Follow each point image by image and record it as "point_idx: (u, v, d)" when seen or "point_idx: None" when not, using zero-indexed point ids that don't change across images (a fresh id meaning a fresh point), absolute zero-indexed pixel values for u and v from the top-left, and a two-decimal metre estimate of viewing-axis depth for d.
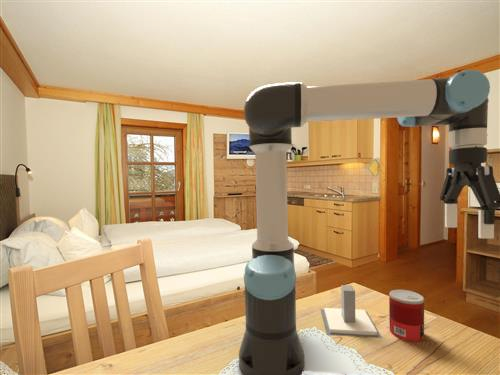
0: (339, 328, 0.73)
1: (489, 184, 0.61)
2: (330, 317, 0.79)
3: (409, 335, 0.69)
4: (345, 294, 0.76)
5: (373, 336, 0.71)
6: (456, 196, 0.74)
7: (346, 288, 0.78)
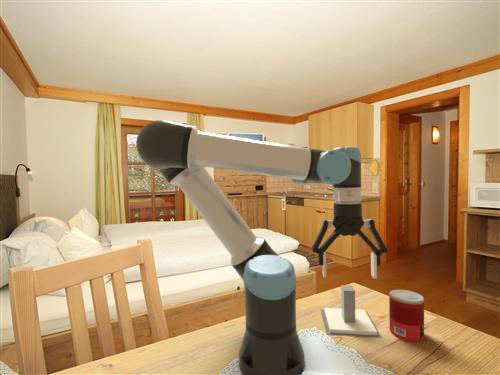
0: (339, 328, 0.73)
1: (319, 233, 0.79)
2: (330, 317, 0.79)
3: (409, 335, 0.69)
4: (345, 294, 0.76)
5: (373, 336, 0.71)
6: (370, 247, 0.76)
7: (346, 288, 0.78)
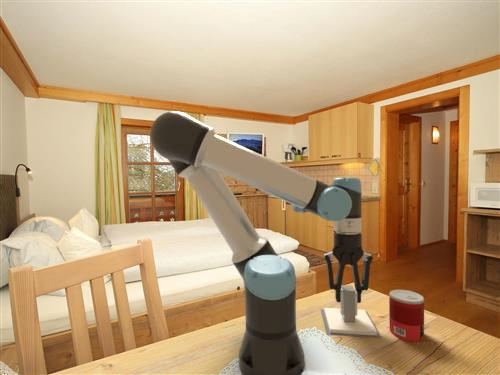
0: (339, 328, 0.73)
1: (327, 269, 0.79)
2: (330, 317, 0.79)
3: (409, 335, 0.69)
4: (345, 294, 0.76)
5: (373, 336, 0.71)
6: (355, 281, 0.77)
7: (346, 288, 0.78)
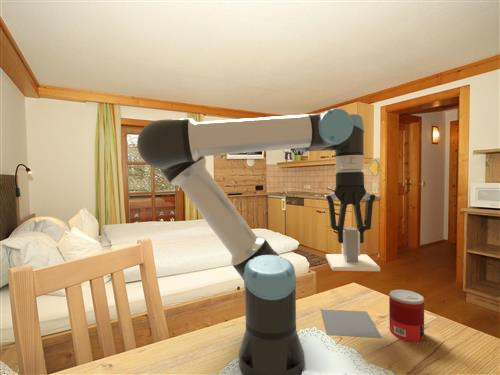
0: (342, 266, 0.73)
1: (329, 210, 0.78)
2: (332, 259, 0.78)
3: (409, 335, 0.69)
4: (347, 233, 0.75)
5: (373, 336, 0.71)
6: (357, 221, 0.76)
7: (348, 229, 0.77)
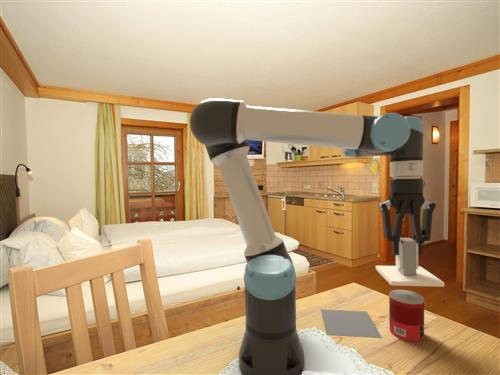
0: (401, 280, 0.67)
1: (383, 220, 0.72)
2: (386, 272, 0.73)
3: (409, 335, 0.69)
4: (405, 245, 0.70)
5: (373, 336, 0.71)
6: (415, 232, 0.71)
7: (405, 239, 0.71)
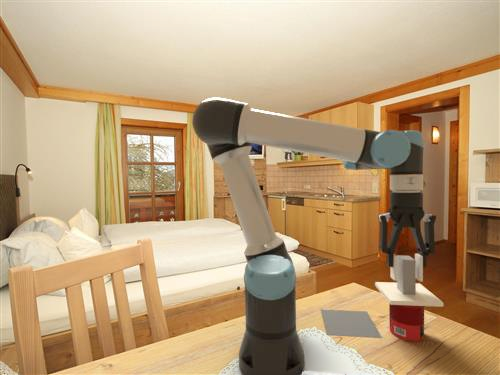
0: (400, 299, 0.67)
1: (380, 231, 0.73)
2: (386, 290, 0.73)
3: (409, 335, 0.69)
4: (404, 264, 0.70)
5: (373, 336, 0.71)
6: (418, 245, 0.71)
7: (404, 258, 0.71)
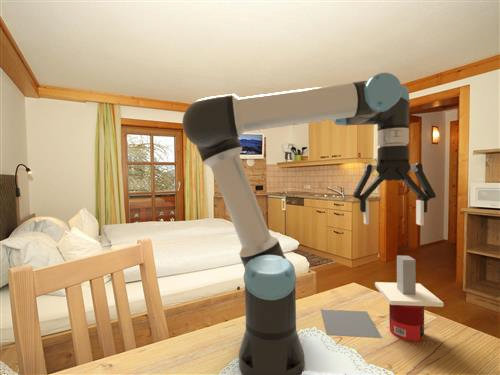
0: (400, 300, 0.67)
1: (361, 179, 0.76)
2: (385, 290, 0.73)
3: (409, 335, 0.69)
4: (404, 264, 0.70)
5: (373, 336, 0.71)
6: (416, 192, 0.72)
7: (404, 258, 0.71)
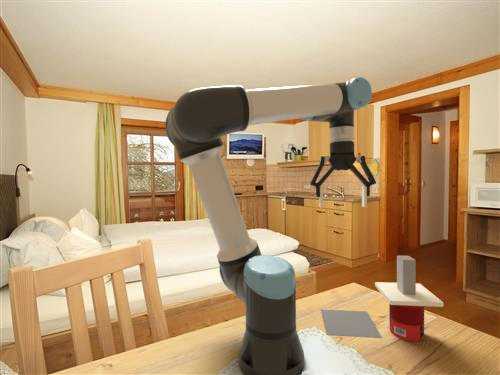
0: (400, 300, 0.67)
1: None
2: (386, 290, 0.73)
3: (409, 335, 0.69)
4: (404, 264, 0.70)
5: (373, 336, 0.71)
6: (361, 180, 0.87)
7: (404, 258, 0.71)
